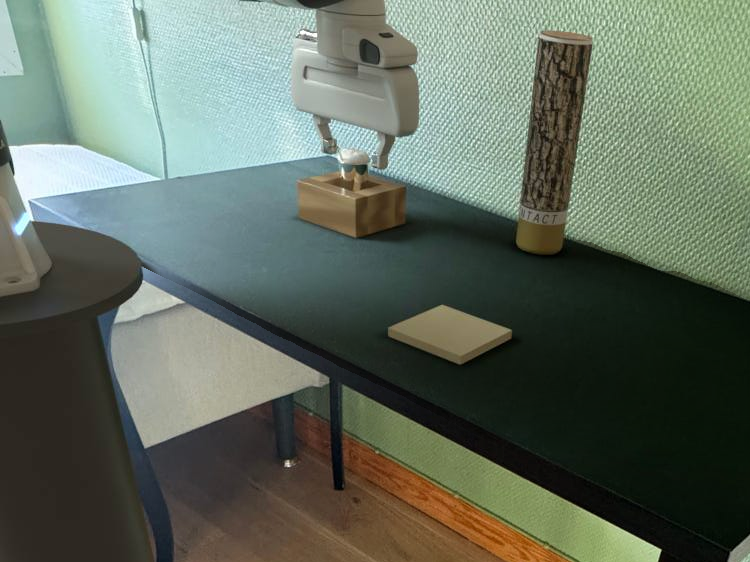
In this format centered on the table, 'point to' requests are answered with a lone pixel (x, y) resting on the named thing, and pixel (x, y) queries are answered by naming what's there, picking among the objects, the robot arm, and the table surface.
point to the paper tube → (552, 139)
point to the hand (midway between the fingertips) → (354, 160)
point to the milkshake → (353, 169)
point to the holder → (351, 204)
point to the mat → (450, 334)
